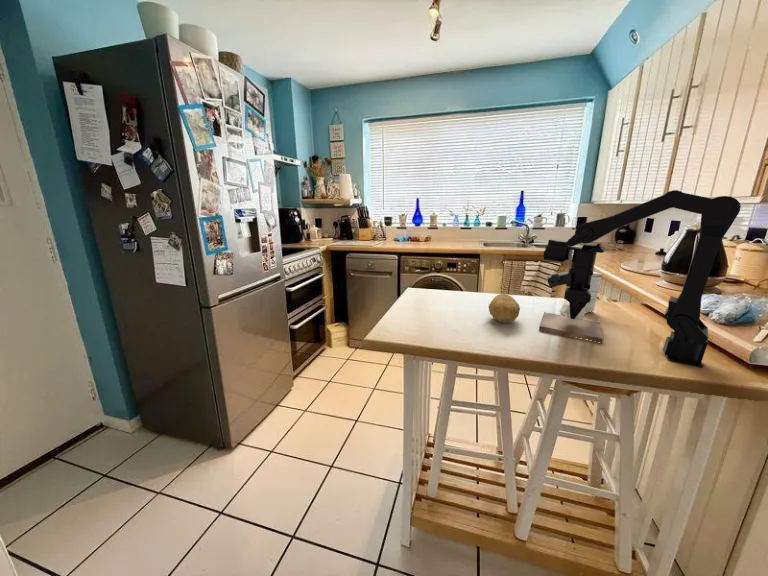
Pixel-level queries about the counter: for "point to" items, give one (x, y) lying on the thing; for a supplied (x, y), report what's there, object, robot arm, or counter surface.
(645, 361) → the counter surface
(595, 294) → the syrup box
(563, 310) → the elephant figurine
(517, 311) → the potato
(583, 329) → the walnut board
